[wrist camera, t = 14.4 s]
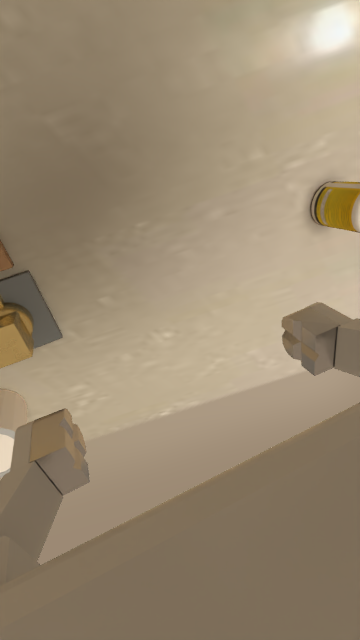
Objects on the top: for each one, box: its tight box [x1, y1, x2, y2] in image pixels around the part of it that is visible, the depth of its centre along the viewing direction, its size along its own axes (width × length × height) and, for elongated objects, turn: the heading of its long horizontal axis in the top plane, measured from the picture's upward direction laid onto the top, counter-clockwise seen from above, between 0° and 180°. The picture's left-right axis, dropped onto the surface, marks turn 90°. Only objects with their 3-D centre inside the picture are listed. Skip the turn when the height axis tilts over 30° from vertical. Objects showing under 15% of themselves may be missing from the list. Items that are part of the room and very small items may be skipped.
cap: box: [0, 295, 34, 368], centre depth 29 cm, size 8×4×6 cm, turn 13°
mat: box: [0, 271, 63, 349], centre depth 32 cm, size 8×8×1 cm
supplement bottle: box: [311, 182, 360, 233], centre depth 36 cm, size 5×5×10 cm
